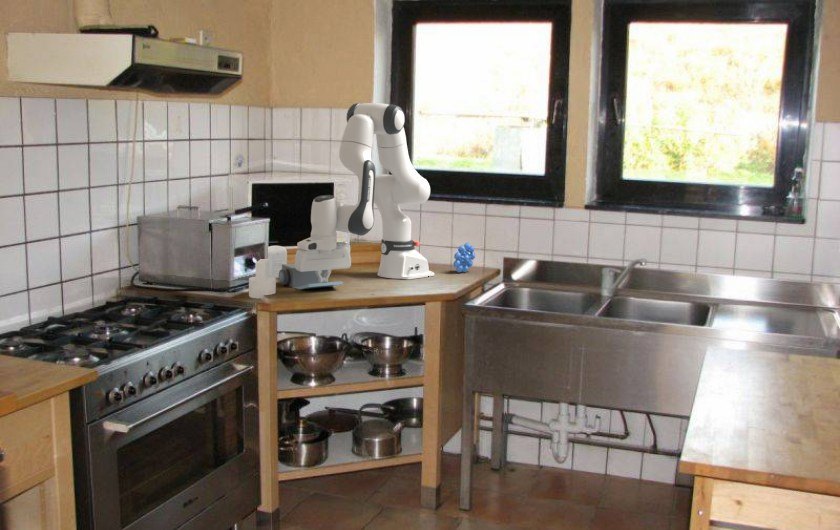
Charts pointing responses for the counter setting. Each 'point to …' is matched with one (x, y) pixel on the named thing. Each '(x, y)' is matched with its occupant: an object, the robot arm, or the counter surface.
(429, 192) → the robot arm
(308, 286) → the side door
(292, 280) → the camera body
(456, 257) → the grapes
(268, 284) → the base with upright slab
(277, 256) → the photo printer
